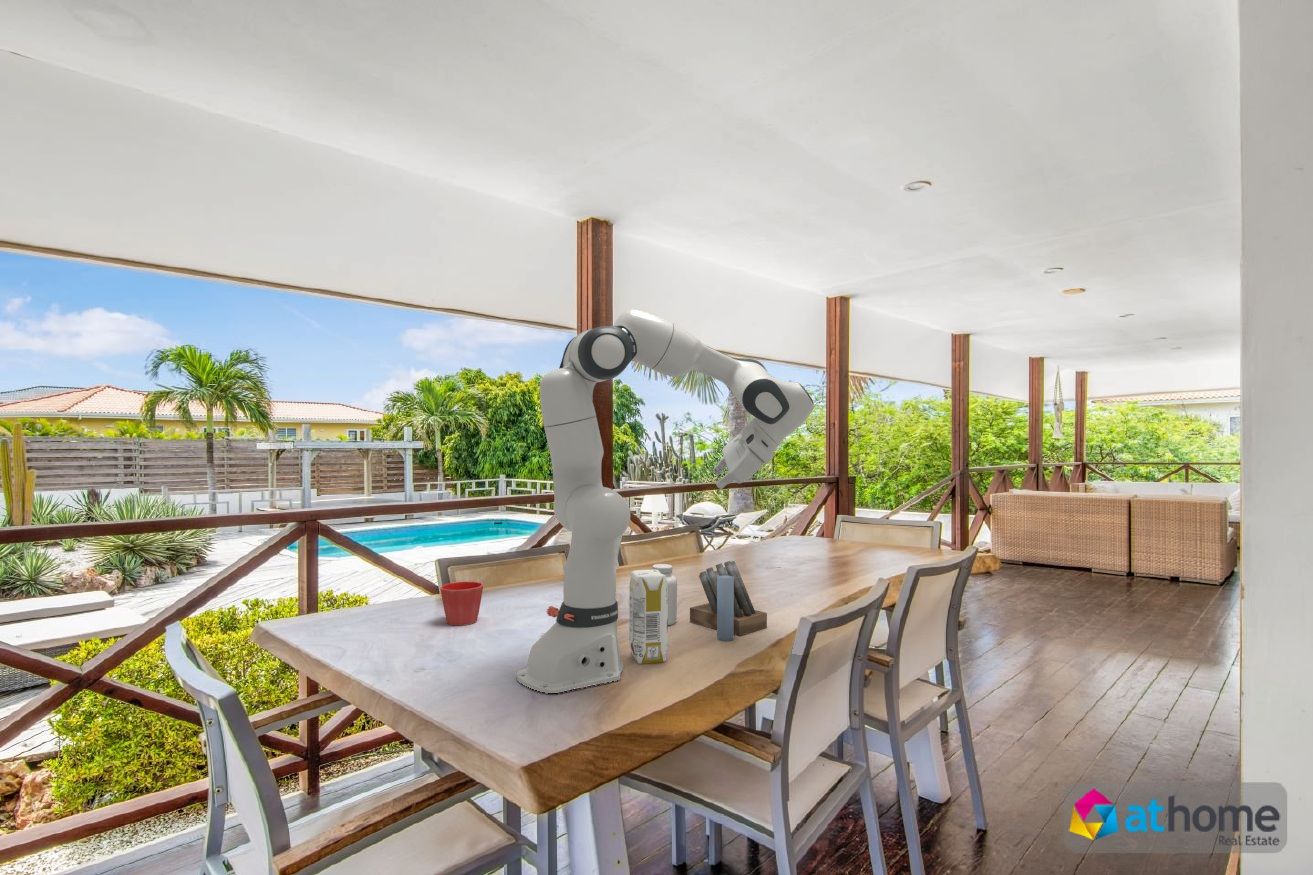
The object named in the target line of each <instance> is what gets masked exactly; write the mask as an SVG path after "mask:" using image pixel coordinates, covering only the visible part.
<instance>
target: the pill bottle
mask: <svg viewBox="0 0 1313 875" xmlns="http://www.w3.org/2000/svg"><path fill="white" fill-rule="evenodd" d="M651 570H658V571H659V572H660V573H661V574H664V575H666V580H667V585H668V626H670V625H674V624H676V623H677V616H678V615H677V614H678V613H677V612H678V611H677V610H678V580H677V578H676V576H675V575H673V566H672V565H671V564H667V563H656V564H653V565H652V569H651Z"/></svg>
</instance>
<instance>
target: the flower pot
mask: <svg viewBox="0 0 1313 875" xmlns="http://www.w3.org/2000/svg"><path fill="white" fill-rule="evenodd" d="M483 590H484V583H482V582H478V581H454V582H450V583H446V584H443V585H441V586H440V594H441V601H442V605H443V610H444V615H445V616H444V617H445V621H446V623H447V625H449V624H450V626H467V625H472V624H475V623H476V622H478V618H479V614H480V613H479V612H480V607H481V602H482V596H483Z"/></svg>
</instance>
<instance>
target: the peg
mask: <svg viewBox="0 0 1313 875" xmlns="http://www.w3.org/2000/svg"><path fill="white" fill-rule="evenodd" d="M734 637H735V635H734V577H733V576H726V575H723V576H718V577H717V630H716V639H717V640H718V641H721V642H731V641H734Z"/></svg>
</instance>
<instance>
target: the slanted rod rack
mask: <svg viewBox="0 0 1313 875" xmlns="http://www.w3.org/2000/svg"><path fill="white" fill-rule="evenodd" d="M715 569H716V570H714V568H713V567H712V566H711V567H708V568H706V569H705V570H704V571H701V572H700V573H699V575H698V578H699V581H700V583H701V586H702V588H703V591H704V594H705V596H706V599H707V601H708V603H704V604H700V605H696V606H691V607H689V623H691V624H696V625H699V626H702V627H706V628H709V629H713V630H716V631H717V577H718V576H723V575H726V576H733V577H734V636H738V637H740V636H744V635H747V634H751V633H754V632H758V631H760V630H763V629H767V628H768V613H767V612H765V611H761V610H756V609H755V608H754V605H753V602H752V600H751V598H750V595H749V593H748V591H747V588H746V585H745V583H744V581H743V578H742V576H741V573H740V571H739V568H738V566H737V564H736V561H735V560H727V561H726V562H724V563H721V562H720V563H718V564H716V565H715Z"/></svg>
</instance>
